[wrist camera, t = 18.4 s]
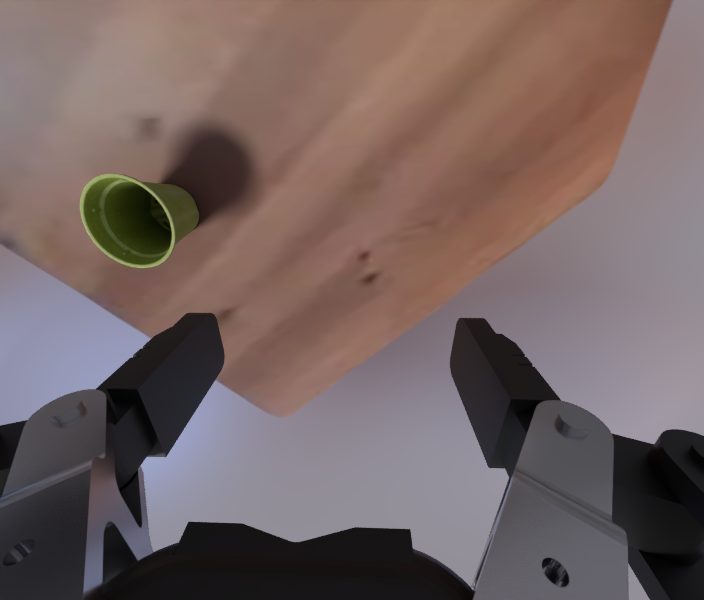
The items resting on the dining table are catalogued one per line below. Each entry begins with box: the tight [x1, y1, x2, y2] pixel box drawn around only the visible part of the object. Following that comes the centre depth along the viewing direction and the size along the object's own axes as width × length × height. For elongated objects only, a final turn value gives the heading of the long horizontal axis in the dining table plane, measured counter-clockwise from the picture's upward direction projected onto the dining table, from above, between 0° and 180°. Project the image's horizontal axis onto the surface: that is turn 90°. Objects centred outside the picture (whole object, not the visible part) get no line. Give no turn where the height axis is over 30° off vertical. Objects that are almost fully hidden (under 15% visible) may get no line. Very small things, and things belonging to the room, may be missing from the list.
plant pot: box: [80, 174, 199, 268], centre depth 34 cm, size 9×9×9 cm
